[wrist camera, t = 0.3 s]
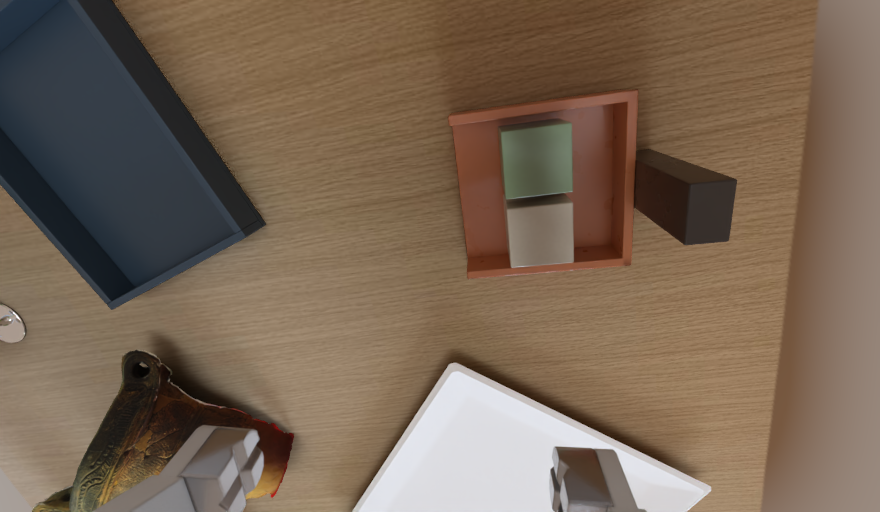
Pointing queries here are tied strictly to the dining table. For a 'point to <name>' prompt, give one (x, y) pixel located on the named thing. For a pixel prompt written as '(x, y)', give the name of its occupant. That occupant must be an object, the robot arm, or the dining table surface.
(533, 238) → the cream block
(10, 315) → the wineglass
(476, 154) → the pan
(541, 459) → the plate
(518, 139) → the sage block
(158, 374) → the pot
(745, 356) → the dining table surface
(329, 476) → the dining table surface
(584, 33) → the dining table surface
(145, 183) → the tray
